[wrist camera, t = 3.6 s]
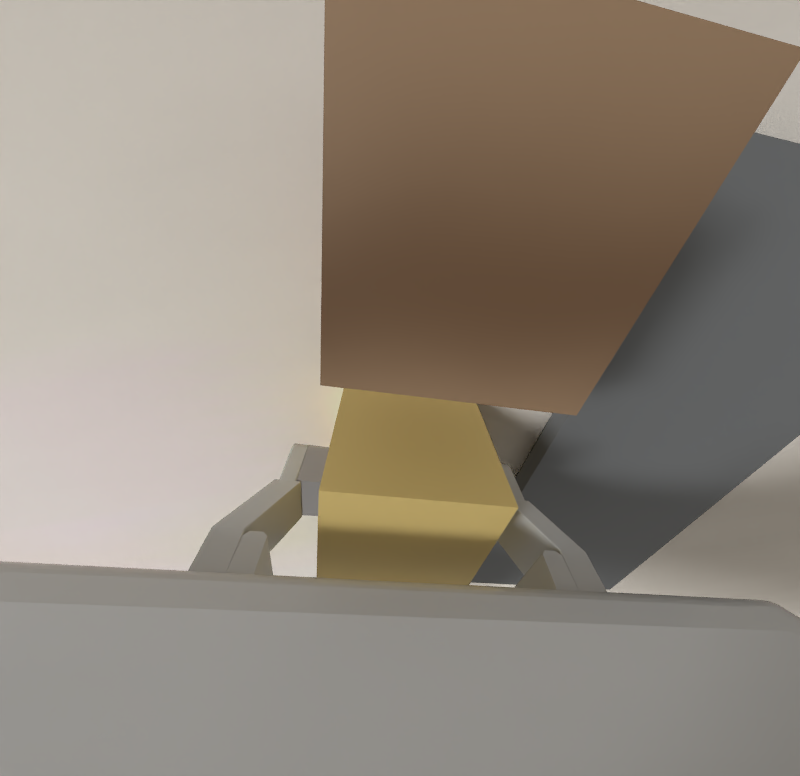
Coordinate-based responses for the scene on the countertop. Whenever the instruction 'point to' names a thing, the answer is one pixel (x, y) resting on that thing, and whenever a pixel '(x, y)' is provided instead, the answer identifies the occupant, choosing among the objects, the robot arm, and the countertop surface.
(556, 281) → the walnut block
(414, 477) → the mustard block
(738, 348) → the rubber mat
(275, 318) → the countertop surface
